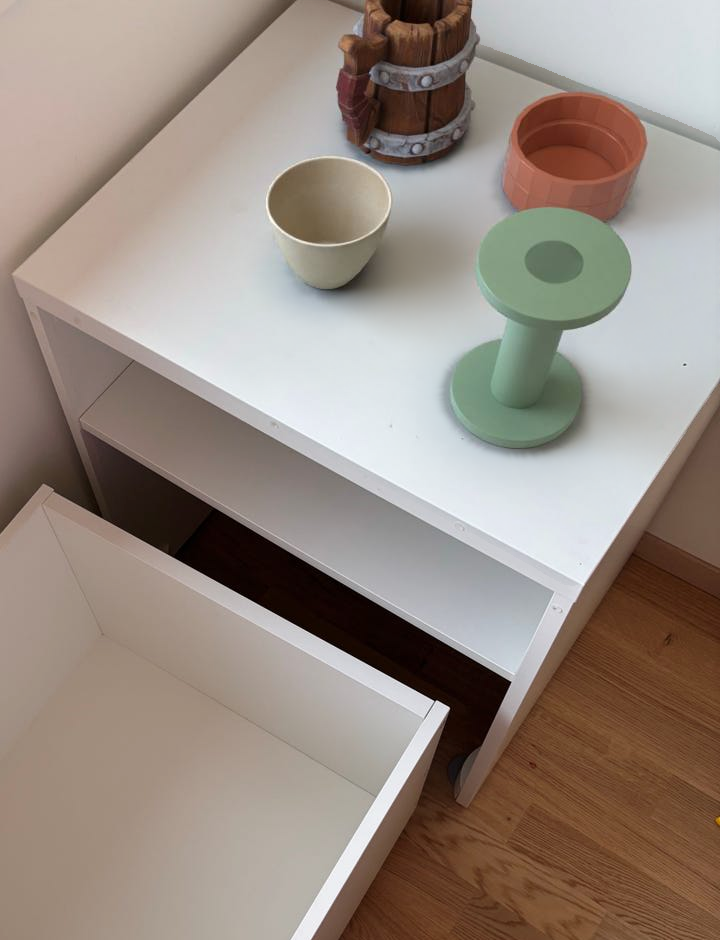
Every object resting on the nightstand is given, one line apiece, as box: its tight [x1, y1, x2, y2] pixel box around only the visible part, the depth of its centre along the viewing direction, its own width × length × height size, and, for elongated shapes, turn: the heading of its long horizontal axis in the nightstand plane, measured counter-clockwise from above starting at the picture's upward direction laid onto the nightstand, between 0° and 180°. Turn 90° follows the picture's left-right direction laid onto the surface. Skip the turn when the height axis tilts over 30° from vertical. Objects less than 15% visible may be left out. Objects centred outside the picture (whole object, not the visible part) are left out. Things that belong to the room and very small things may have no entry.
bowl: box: [501, 91, 648, 223], centre depth 85 cm, size 11×11×5 cm
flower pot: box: [265, 155, 393, 290], centre depth 82 cm, size 10×10×7 cm
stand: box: [449, 207, 632, 449], centre depth 72 cm, size 10×10×14 cm
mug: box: [335, 0, 481, 166], centre depth 86 cm, size 12×14×15 cm
